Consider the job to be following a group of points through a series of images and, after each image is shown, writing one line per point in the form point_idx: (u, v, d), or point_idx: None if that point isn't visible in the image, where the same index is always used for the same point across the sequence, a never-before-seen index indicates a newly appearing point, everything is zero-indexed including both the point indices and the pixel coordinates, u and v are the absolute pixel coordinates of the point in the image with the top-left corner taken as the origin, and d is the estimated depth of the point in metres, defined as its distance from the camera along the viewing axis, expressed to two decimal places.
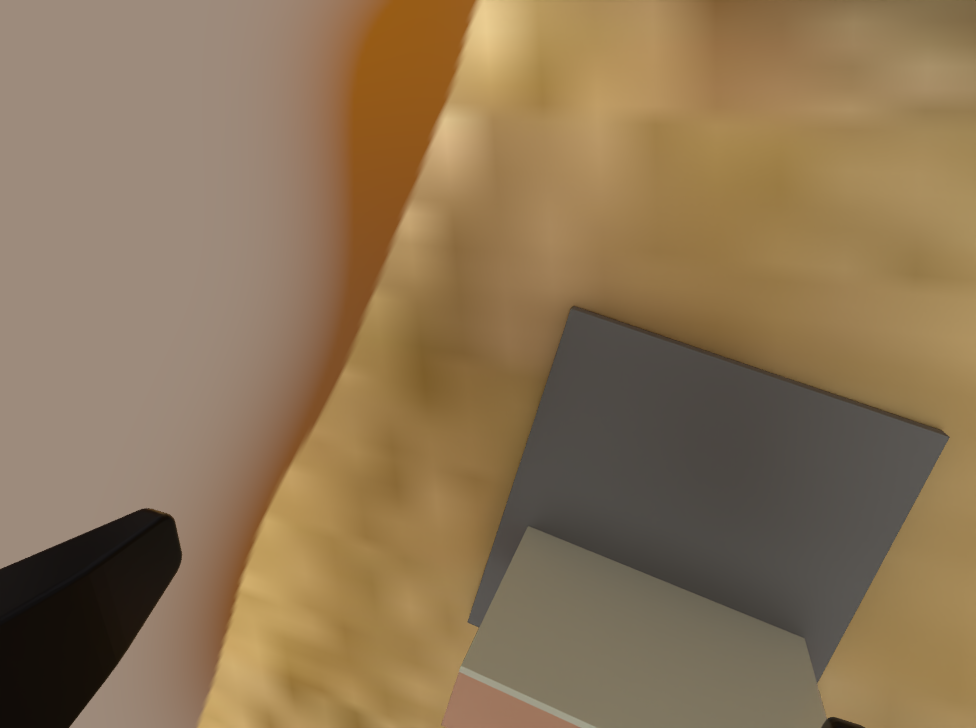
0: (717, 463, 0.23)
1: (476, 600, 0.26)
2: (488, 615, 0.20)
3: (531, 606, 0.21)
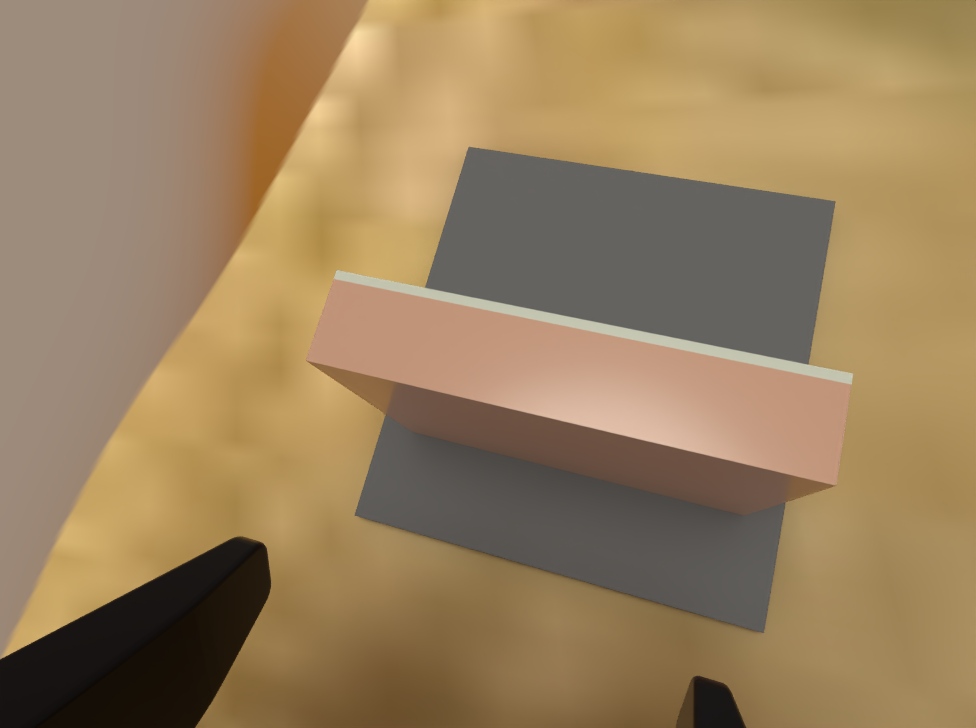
0: (625, 265, 0.22)
1: (367, 480, 0.21)
2: None
3: None
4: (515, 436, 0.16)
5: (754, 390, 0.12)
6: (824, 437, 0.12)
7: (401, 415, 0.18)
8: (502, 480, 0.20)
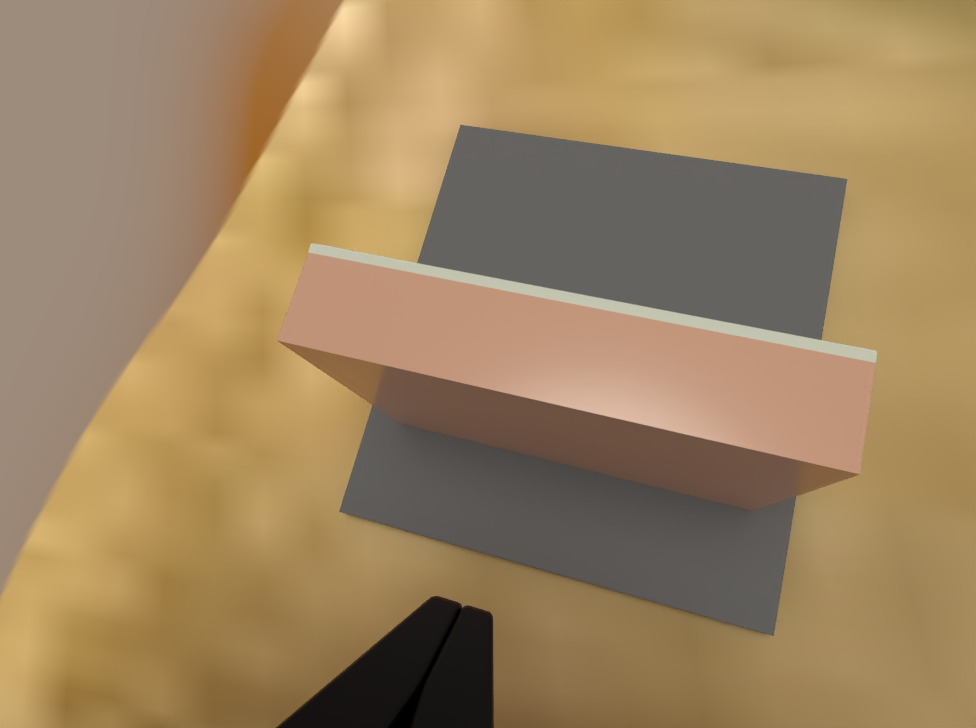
0: (625, 246, 0.21)
1: (352, 475, 0.20)
2: None
3: None
4: (507, 425, 0.15)
5: (768, 370, 0.11)
6: (846, 421, 0.11)
7: (386, 404, 0.17)
8: (495, 474, 0.19)
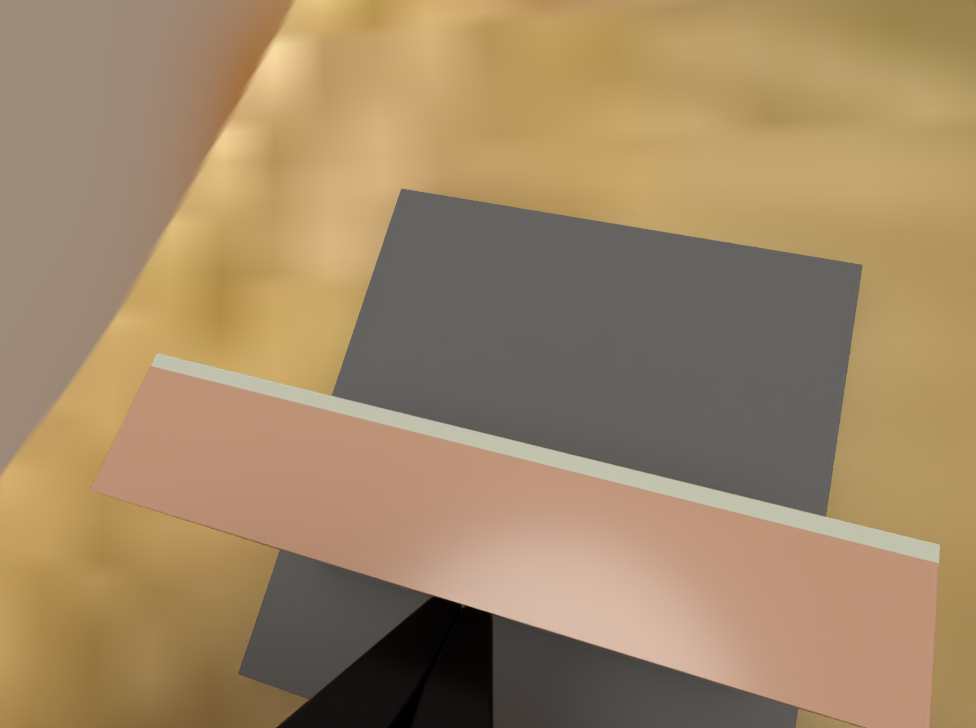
0: (592, 343, 0.17)
1: (256, 626, 0.16)
2: None
3: None
4: (427, 594, 0.11)
5: (781, 567, 0.07)
6: (901, 655, 0.07)
7: None
8: None
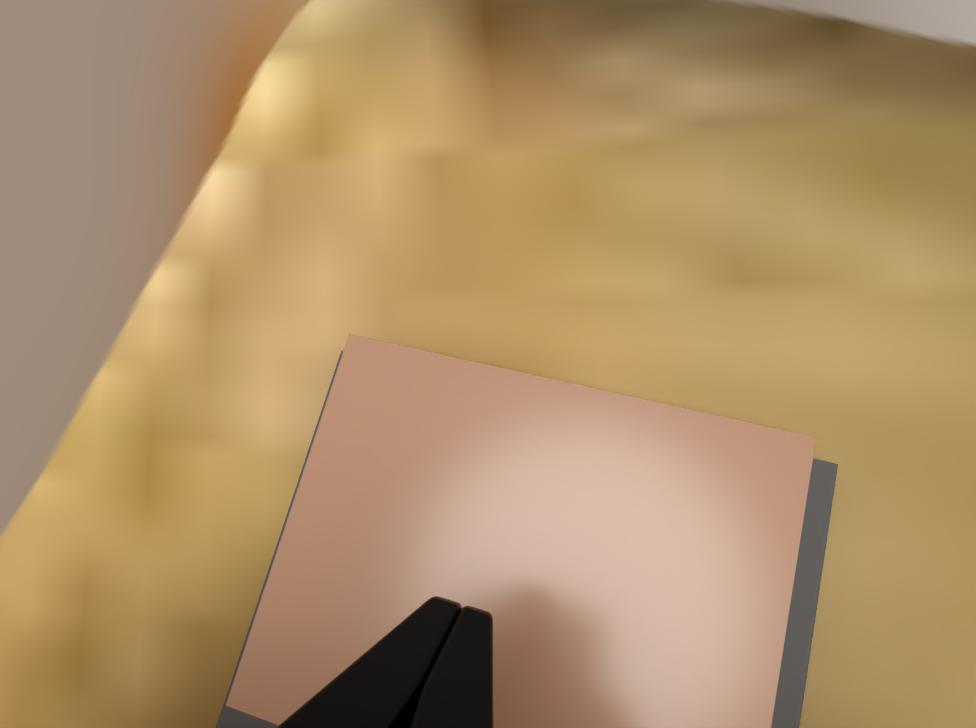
0: None
1: None
2: None
3: None
4: (473, 531, 0.14)
5: None
6: None
7: (305, 552, 0.14)
8: None
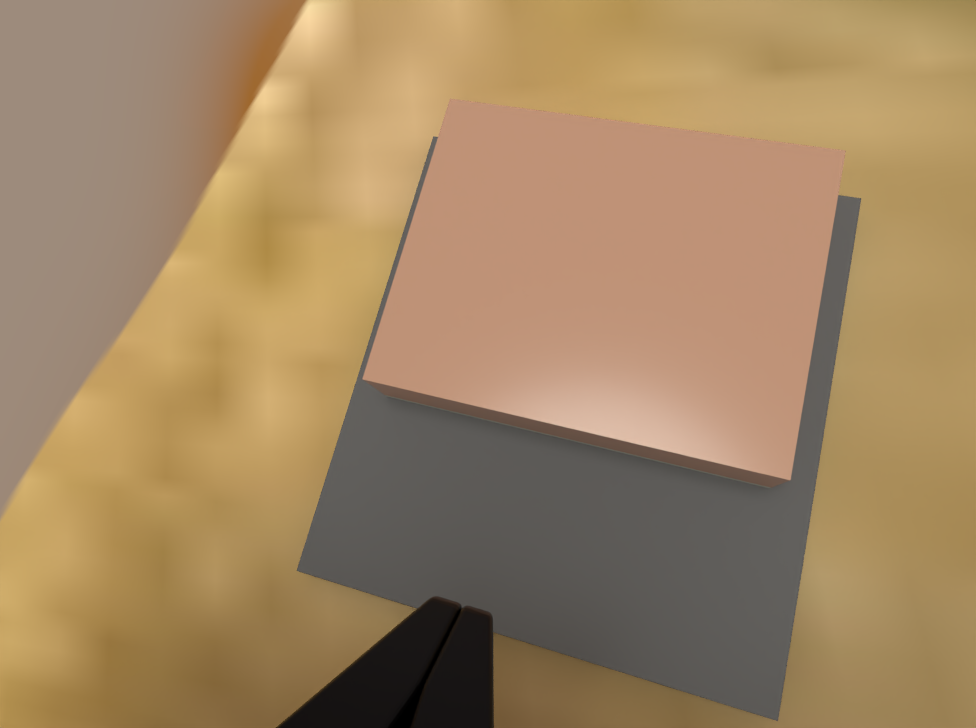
0: None
1: (311, 529, 0.18)
2: None
3: None
4: (562, 238, 0.17)
5: None
6: None
7: (422, 264, 0.17)
8: (468, 530, 0.17)
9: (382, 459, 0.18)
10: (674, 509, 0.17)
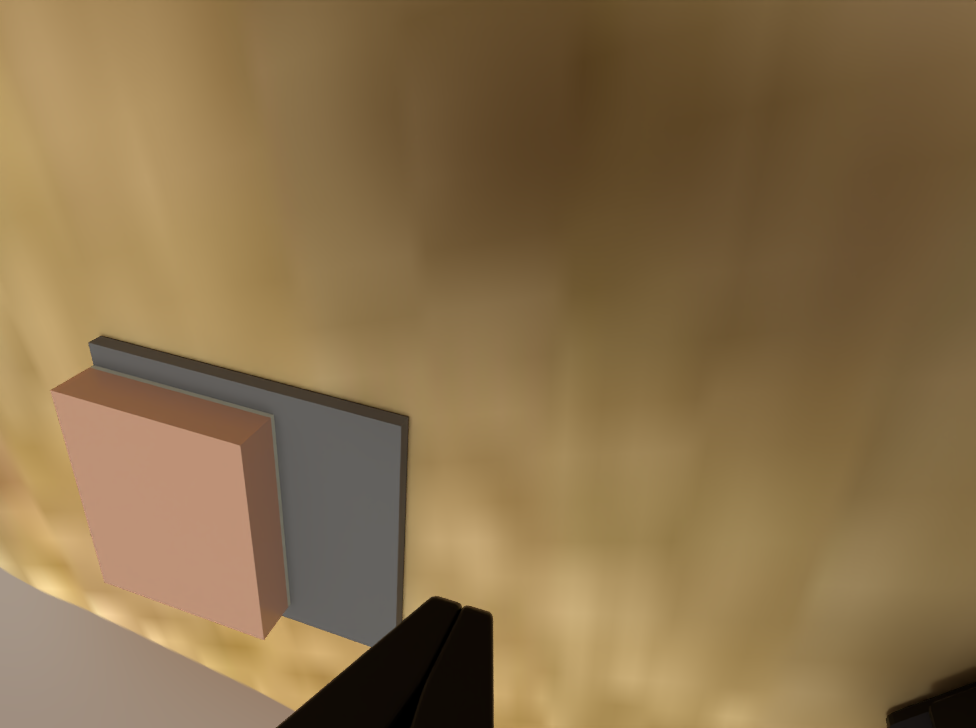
0: None
1: (371, 646, 0.29)
2: None
3: None
4: (156, 538, 0.27)
5: None
6: None
7: (195, 605, 0.29)
8: (348, 571, 0.28)
9: (324, 609, 0.29)
10: (302, 466, 0.26)
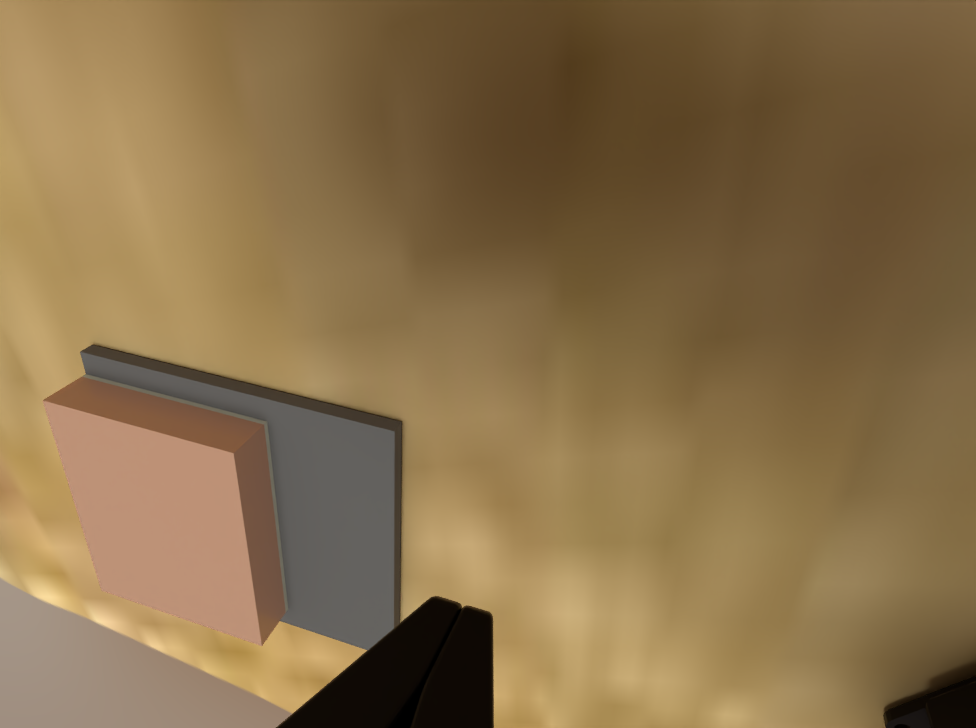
0: None
1: None
2: None
3: None
4: (151, 546, 0.27)
5: None
6: None
7: (192, 612, 0.29)
8: (344, 576, 0.28)
9: (322, 614, 0.29)
10: (296, 472, 0.26)
